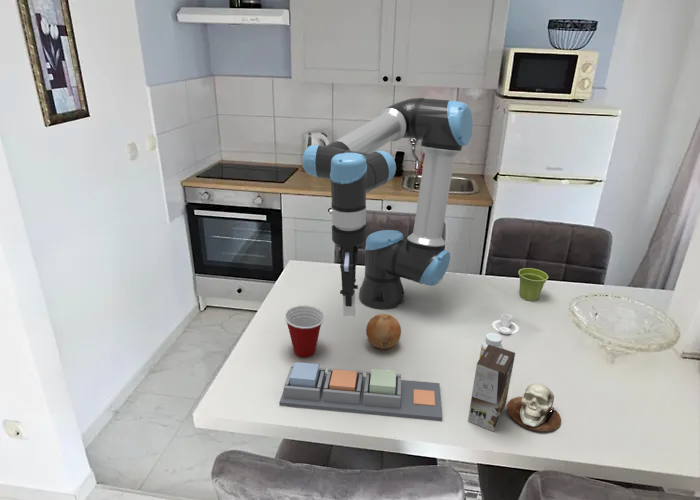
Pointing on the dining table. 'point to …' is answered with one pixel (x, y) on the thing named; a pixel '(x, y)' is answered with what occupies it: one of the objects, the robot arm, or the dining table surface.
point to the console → (367, 397)
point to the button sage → (383, 382)
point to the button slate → (304, 375)
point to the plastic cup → (304, 328)
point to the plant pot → (531, 283)
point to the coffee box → (491, 387)
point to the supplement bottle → (491, 342)
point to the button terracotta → (343, 380)
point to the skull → (535, 409)
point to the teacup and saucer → (505, 325)
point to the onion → (383, 331)
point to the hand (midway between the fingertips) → (349, 314)
